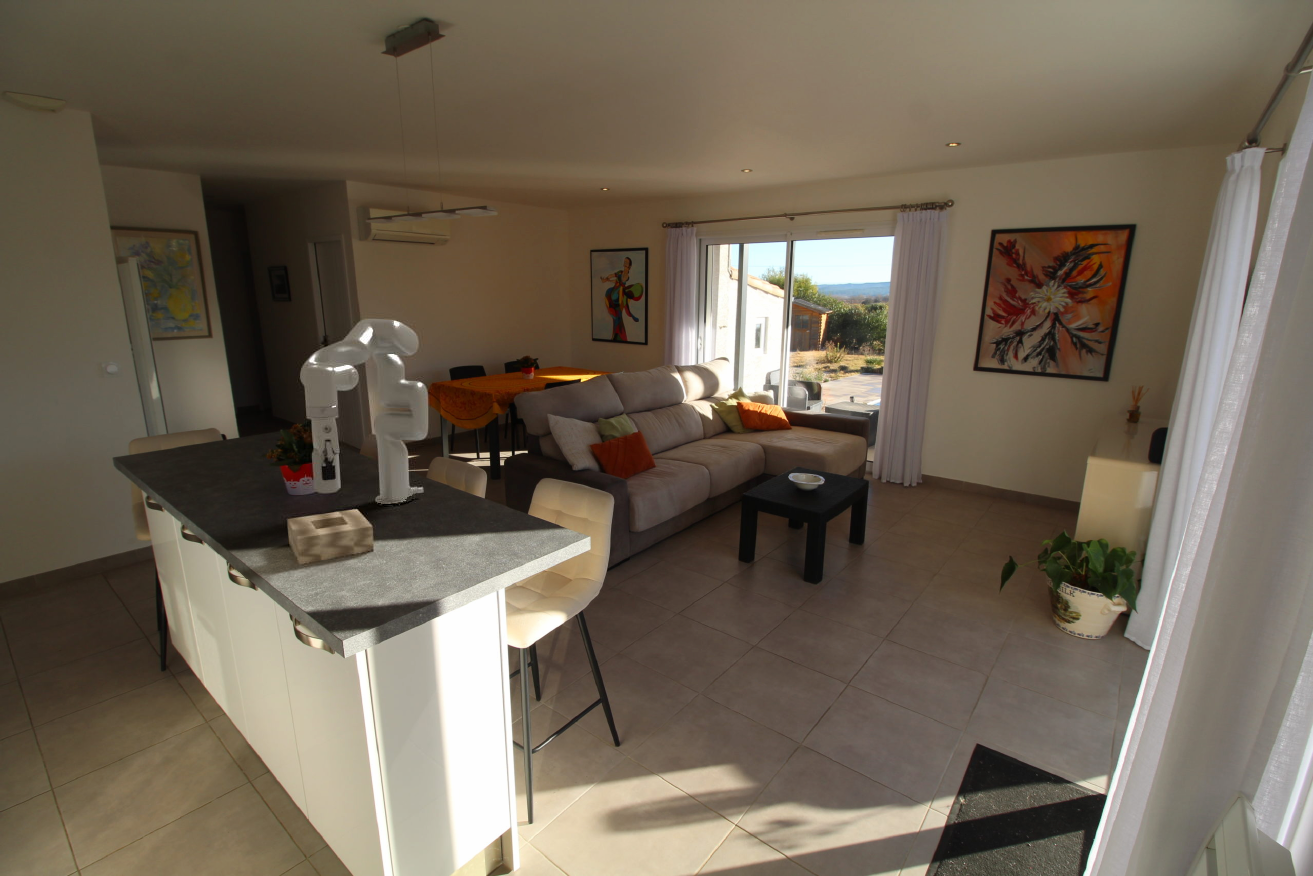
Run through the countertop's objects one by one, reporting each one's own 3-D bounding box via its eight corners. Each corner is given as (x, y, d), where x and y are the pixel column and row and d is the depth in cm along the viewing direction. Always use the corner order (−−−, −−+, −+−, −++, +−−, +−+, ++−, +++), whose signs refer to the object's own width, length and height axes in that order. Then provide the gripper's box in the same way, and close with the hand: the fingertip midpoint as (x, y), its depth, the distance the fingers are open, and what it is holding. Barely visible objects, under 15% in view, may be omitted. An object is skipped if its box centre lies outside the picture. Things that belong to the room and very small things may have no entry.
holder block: (358, 531, 183) (356, 509, 181) (373, 550, 169) (372, 526, 168) (289, 543, 172) (287, 519, 170) (299, 564, 158) (297, 538, 157)
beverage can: (322, 495, 163) (319, 451, 160) (309, 491, 166) (306, 448, 164) (345, 490, 168) (343, 448, 166) (332, 486, 171) (329, 444, 169)
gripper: (344, 415, 159) (348, 482, 162) (331, 406, 172) (335, 468, 175) (312, 417, 154) (317, 486, 158) (301, 408, 167) (305, 471, 171)
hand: (326, 476), depth 167 cm, fingers closed on beverage can, 5 cm apart
